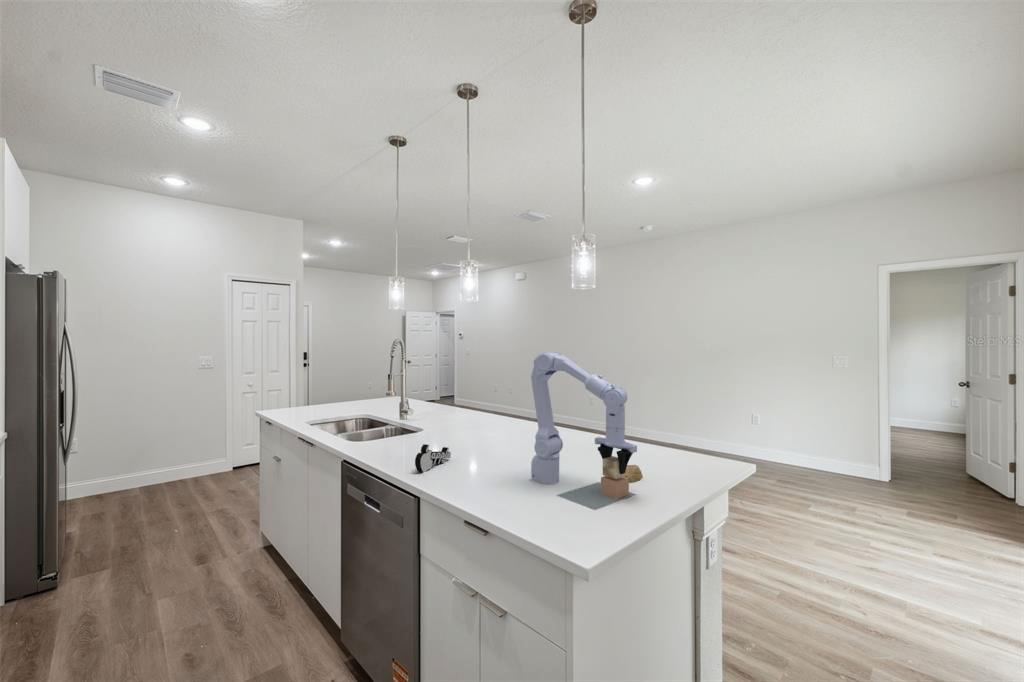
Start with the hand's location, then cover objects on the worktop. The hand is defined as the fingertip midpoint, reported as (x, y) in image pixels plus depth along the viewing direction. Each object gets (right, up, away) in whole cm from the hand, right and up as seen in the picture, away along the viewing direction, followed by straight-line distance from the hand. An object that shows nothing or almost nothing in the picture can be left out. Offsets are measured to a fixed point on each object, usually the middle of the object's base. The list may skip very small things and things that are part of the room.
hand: (614, 471), depth 134 cm
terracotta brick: (0, -7, 0) cm, 7 cm away
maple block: (0, -1, 0) cm, 1 cm away
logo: (-62, -8, +31) cm, 69 cm away
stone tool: (+10, -8, +16) cm, 20 cm away
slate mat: (-6, -8, -1) cm, 10 cm away
